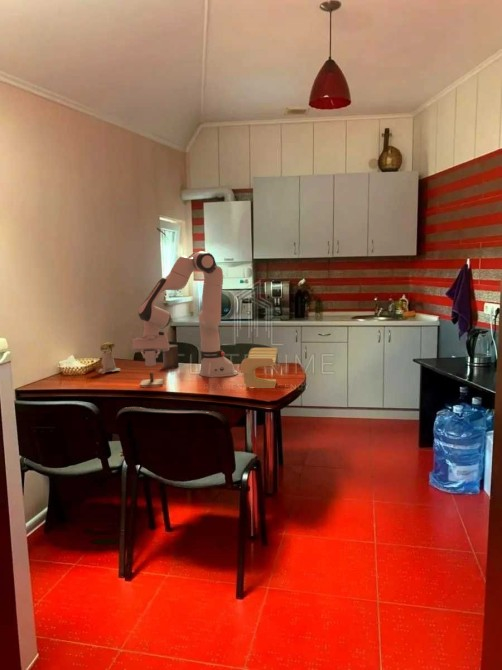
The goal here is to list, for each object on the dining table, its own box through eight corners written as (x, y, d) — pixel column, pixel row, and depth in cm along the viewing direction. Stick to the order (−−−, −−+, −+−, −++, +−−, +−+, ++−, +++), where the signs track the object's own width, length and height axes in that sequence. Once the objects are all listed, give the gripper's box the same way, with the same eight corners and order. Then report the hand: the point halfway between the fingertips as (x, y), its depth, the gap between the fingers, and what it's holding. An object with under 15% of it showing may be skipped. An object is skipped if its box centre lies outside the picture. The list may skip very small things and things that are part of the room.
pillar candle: (181, 366, 324) (180, 343, 322) (170, 369, 317) (168, 345, 315) (172, 365, 330) (170, 342, 328) (160, 367, 323) (158, 344, 321)
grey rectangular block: (155, 363, 281) (155, 349, 280) (155, 365, 276) (154, 351, 274) (146, 364, 280) (145, 349, 279) (145, 366, 275) (144, 351, 274)
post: (163, 381, 286) (163, 370, 285) (162, 386, 274) (161, 374, 273) (142, 382, 285) (141, 370, 284) (139, 387, 273) (139, 375, 272)
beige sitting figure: (122, 372, 312) (121, 342, 309) (101, 374, 306) (99, 344, 303) (118, 368, 322) (116, 340, 319) (97, 371, 316) (95, 342, 313)
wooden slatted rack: (249, 378, 288) (248, 347, 286) (277, 378, 286) (277, 347, 283) (241, 392, 259) (240, 358, 256) (272, 393, 257) (272, 358, 254)
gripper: (131, 333, 281) (130, 354, 273) (169, 332, 283) (168, 353, 275) (132, 340, 286) (131, 361, 278) (169, 339, 288) (169, 359, 280)
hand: (150, 357), depth 277 cm, fingers closed on grey rectangular block, 5 cm apart
